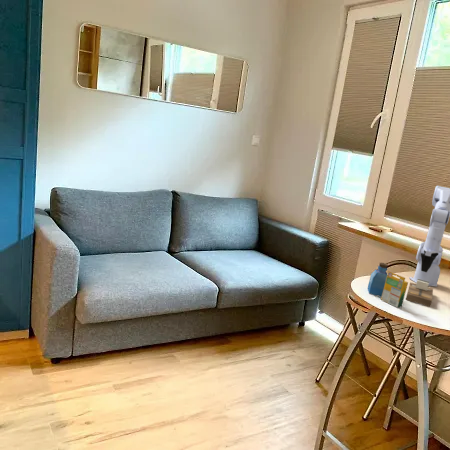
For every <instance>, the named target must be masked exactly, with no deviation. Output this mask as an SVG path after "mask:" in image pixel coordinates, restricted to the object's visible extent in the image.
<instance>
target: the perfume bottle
mask: <svg viewBox="0 0 450 450" xmlns="http://www.w3.org/2000/svg"><path fill="white" fill-rule="evenodd" d="M387 271H388V264H387V263H385V262H379V265H378V266H377V269H375V270H374V271H372V272H371V274H370V277H369V281H368V285H367V291H368V294H369V295H374V296H378V297H382V293H383V290H384V286H385V282H386V278H387V275H388V272H387Z"/></svg>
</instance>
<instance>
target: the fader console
mask: <svg viewBox="0 0 450 450" xmlns="http://www.w3.org/2000/svg"><path fill="white" fill-rule="evenodd" d="M415 286H416V282H411V281H410V282H409V285H408V289H407V292H406V293H407V294H406V295H405V300H406V301H409V302H410V303H411V302H412V303H415V304H418V305H422V306H425V307H429V308H431V305H432V302H433V297H434V296H433V294H434V293H433V292H434V288H432V287H430V286H428V288H427V291H426V290H422V289H419V288H415Z"/></svg>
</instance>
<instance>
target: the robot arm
mask: <svg viewBox="0 0 450 450" xmlns="http://www.w3.org/2000/svg"><path fill="white" fill-rule="evenodd" d="M431 205H432V206H433V207H434V208H433V209H432V213H431V216H430V221H429V228H428V231H427V235H426V238H425V241H422V242H421V243H420V244H419V247H418V248H417V253H416V257H415V260H416V261H417V265H416V269H415V272H414V275H413V277H412V276H409V279H410V280H411V281H413V283H415V284H416V283H417V279H421V280H425V281H428V282H429V285H428V287H438V282H439V278H440V275H441V267H440V266H439V265H440V264H441V260H442V256H443V251H444V249H443V247H442V246H441V244H442V240H443V237H444V233H445V231H446V230H445V229H446V227H447V225H448V223H449V221H450V187H445V186H440V185H436V186H435V188H434V192H433V195H432V202H431Z"/></svg>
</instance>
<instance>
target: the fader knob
mask: <svg viewBox="0 0 450 450" xmlns="http://www.w3.org/2000/svg"><path fill="white" fill-rule="evenodd" d="M415 284H416V286H415V288H419V289H422V290H426V291H427V288H428V287H429V286H428V285H429V282H428V281H425V280H421V279H417V283H416V282H415Z"/></svg>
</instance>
